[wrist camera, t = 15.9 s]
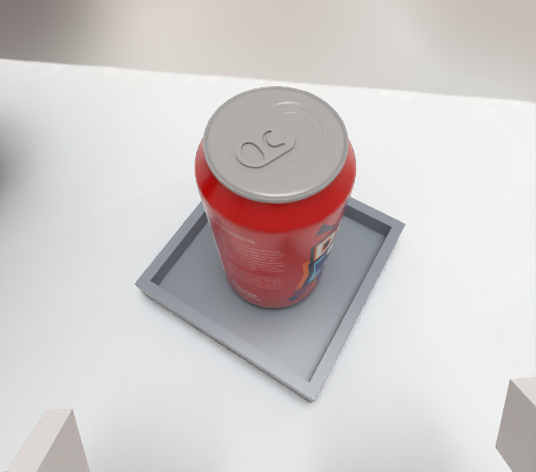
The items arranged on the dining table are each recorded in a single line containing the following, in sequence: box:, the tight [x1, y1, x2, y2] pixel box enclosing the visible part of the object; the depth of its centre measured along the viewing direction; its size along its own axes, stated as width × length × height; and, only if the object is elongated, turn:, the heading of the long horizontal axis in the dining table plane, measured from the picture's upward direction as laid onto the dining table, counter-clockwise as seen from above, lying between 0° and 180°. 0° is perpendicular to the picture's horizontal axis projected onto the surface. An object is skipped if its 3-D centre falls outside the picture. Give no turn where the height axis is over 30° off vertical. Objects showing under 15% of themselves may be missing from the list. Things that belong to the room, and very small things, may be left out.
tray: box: [135, 197, 405, 402], centre depth 30 cm, size 15×15×2 cm
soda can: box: [195, 86, 356, 308], centre depth 23 cm, size 8×8×15 cm
